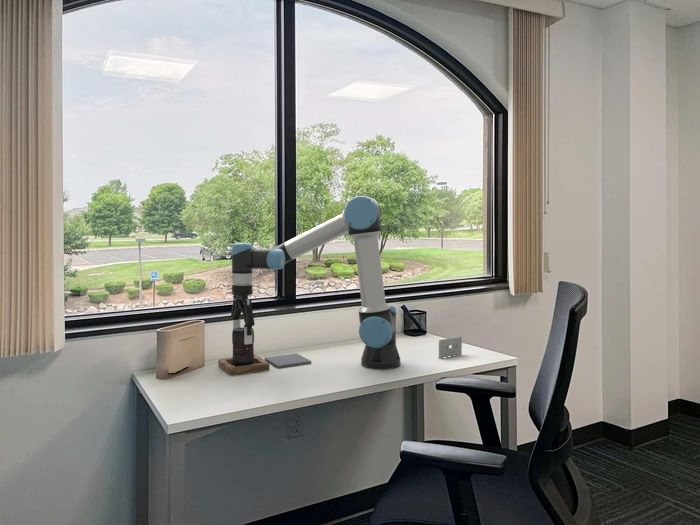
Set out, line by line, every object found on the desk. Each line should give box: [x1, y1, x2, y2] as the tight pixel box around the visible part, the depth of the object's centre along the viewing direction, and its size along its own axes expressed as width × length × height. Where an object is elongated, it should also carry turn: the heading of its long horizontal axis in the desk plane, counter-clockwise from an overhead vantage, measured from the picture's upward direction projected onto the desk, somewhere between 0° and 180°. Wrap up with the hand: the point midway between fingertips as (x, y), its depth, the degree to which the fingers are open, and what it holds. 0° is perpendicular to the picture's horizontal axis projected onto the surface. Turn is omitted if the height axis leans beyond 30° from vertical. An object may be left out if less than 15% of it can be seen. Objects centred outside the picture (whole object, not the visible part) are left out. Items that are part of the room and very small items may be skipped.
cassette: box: [438, 336, 463, 359], centre depth 228 cm, size 12×2×8 cm, turn 123°
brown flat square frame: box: [217, 354, 270, 376], centre depth 211 cm, size 15×15×2 cm
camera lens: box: [231, 327, 255, 367], centre depth 211 cm, size 8×8×15 cm
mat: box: [264, 352, 312, 369], centre depth 220 cm, size 14×14×1 cm
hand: (242, 340), depth 210 cm, fingers open, 13 cm apart
